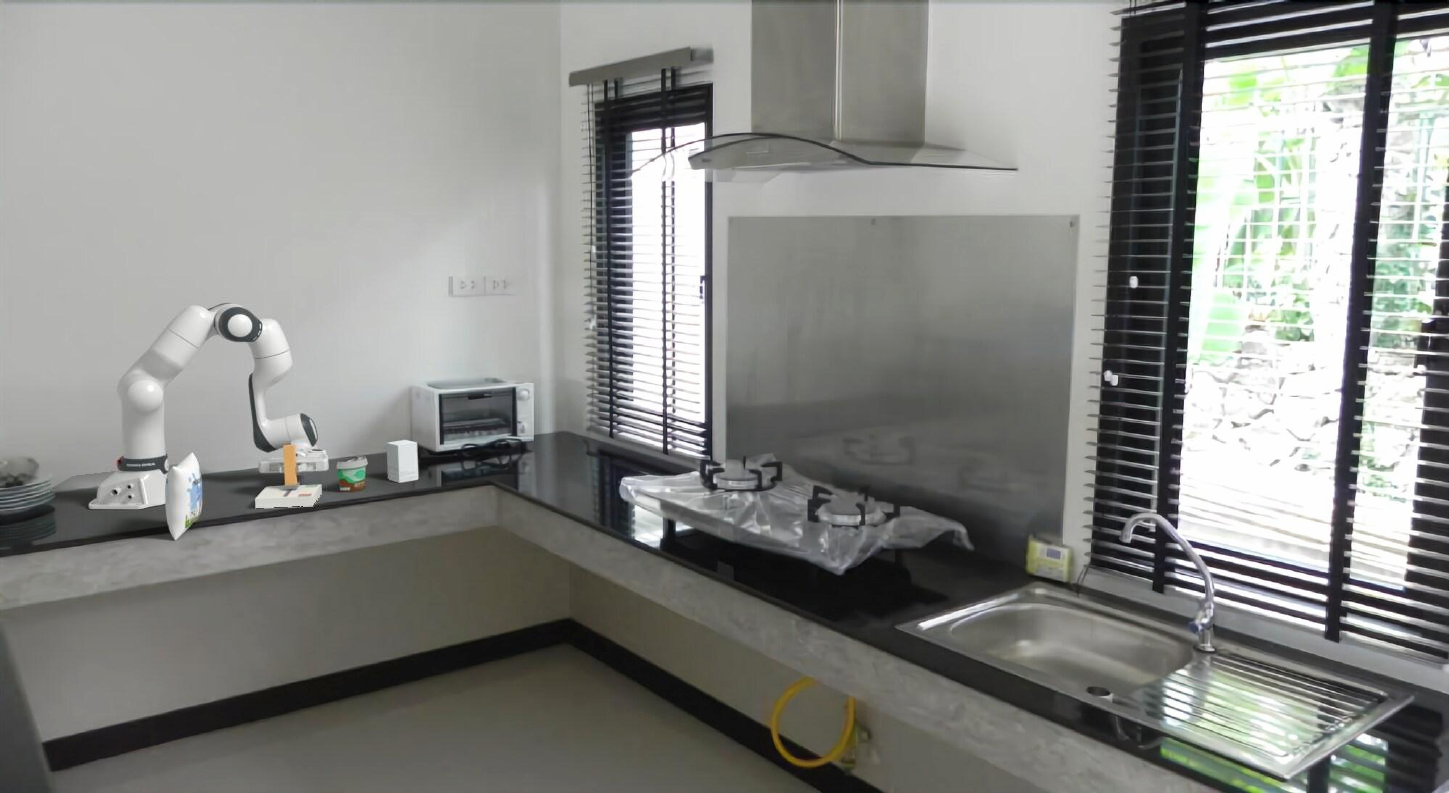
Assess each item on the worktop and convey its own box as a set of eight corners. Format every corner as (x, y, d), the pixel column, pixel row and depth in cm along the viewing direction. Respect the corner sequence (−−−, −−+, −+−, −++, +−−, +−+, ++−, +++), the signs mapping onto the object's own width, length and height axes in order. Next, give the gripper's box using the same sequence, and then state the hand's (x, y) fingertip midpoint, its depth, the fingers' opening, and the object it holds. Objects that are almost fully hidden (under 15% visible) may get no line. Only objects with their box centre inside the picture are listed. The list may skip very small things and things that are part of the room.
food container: (355, 494, 330) (354, 463, 328) (337, 493, 331) (336, 462, 329) (376, 485, 342) (374, 455, 340) (358, 484, 343) (357, 454, 341)
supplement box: (419, 479, 351) (417, 442, 349) (398, 483, 345) (397, 445, 344) (407, 476, 356) (406, 439, 354) (387, 479, 350) (385, 442, 348)
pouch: (157, 541, 278) (152, 466, 275) (182, 522, 296) (178, 452, 293) (190, 540, 279) (185, 466, 276) (213, 521, 298) (208, 451, 295)
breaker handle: (282, 489, 321) (280, 447, 319) (285, 485, 326) (283, 444, 324) (296, 489, 322) (294, 447, 320) (299, 485, 327) (297, 443, 325)
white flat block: (255, 508, 312) (255, 498, 311) (267, 495, 327) (266, 486, 327) (313, 506, 315) (312, 496, 314) (321, 493, 330) (321, 484, 330)
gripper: (262, 451, 333) (252, 461, 320) (331, 449, 337) (324, 458, 324) (263, 471, 334) (253, 481, 321) (332, 469, 338) (325, 478, 325)
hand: (289, 470), depth 322 cm, fingers closed on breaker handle, 3 cm apart
